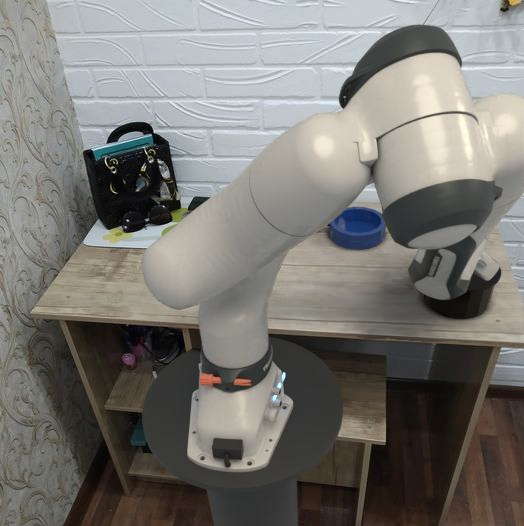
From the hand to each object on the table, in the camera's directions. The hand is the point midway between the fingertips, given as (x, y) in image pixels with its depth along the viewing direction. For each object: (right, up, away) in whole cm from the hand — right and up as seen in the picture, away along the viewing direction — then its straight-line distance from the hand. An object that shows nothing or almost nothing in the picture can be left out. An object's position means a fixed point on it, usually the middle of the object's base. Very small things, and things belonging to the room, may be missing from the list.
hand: (465, 259), depth 116 cm
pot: (0, -7, +6) cm, 10 cm away
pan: (-18, +11, +27) cm, 34 cm away
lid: (0, -2, +1) cm, 2 cm away
